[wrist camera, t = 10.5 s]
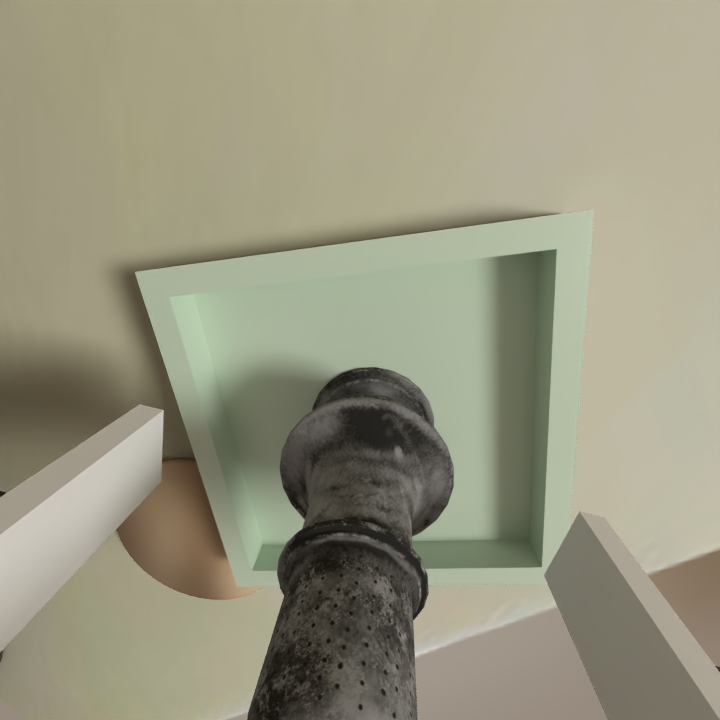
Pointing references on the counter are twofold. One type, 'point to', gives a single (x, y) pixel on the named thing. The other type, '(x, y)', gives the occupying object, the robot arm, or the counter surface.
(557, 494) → the tray
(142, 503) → the cork coaster
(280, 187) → the counter surface
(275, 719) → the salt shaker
